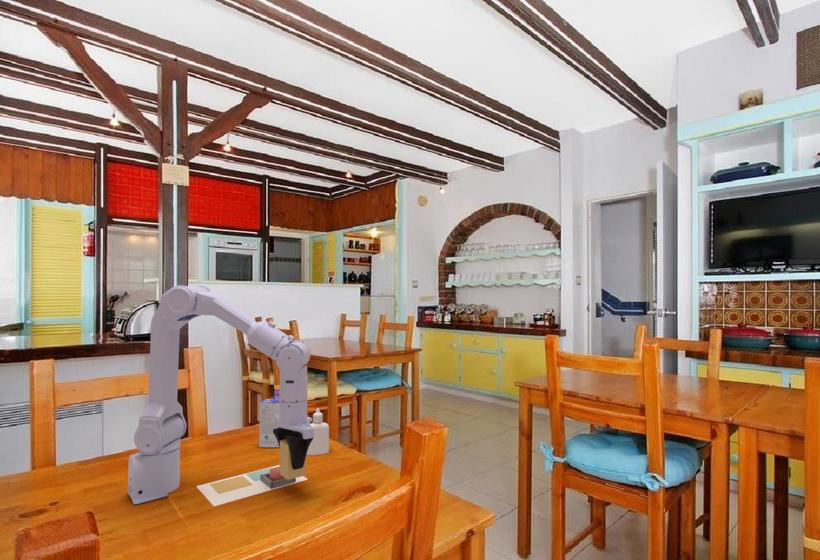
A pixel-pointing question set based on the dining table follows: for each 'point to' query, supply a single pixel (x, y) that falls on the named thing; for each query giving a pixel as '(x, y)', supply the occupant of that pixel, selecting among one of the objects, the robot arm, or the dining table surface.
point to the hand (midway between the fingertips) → (292, 465)
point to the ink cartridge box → (268, 422)
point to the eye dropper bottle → (319, 435)
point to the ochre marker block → (289, 463)
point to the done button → (275, 474)
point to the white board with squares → (243, 486)
